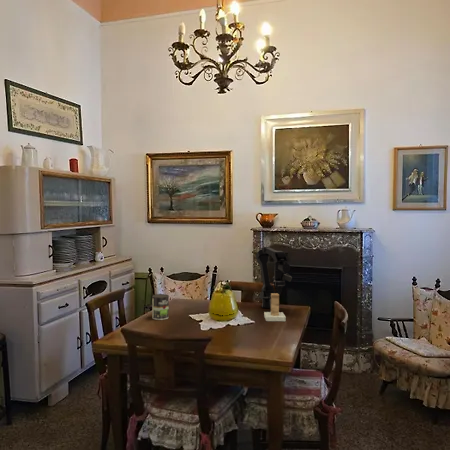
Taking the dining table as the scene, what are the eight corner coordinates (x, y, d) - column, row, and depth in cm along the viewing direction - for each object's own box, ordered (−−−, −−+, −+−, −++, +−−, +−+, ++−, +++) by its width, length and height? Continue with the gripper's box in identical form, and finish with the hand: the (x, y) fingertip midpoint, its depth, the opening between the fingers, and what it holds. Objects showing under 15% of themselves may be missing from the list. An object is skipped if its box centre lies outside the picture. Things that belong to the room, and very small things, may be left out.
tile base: (264, 315, 278) (264, 312, 277) (282, 316, 278) (282, 312, 278) (266, 321, 266) (266, 317, 265) (285, 321, 266) (285, 317, 266)
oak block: (270, 313, 274) (271, 293, 273) (277, 313, 274) (278, 293, 273) (271, 315, 269) (271, 295, 268) (278, 315, 269) (279, 295, 269)
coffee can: (171, 318, 270) (171, 296, 269) (156, 321, 264) (156, 298, 263) (163, 314, 278) (163, 293, 277) (149, 317, 272) (149, 295, 271)
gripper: (293, 272, 274) (293, 297, 275) (288, 268, 292) (288, 291, 293) (276, 272, 274) (275, 296, 275) (272, 268, 292) (272, 290, 293)
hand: (278, 293), depth 284 cm, fingers open, 9 cm apart
